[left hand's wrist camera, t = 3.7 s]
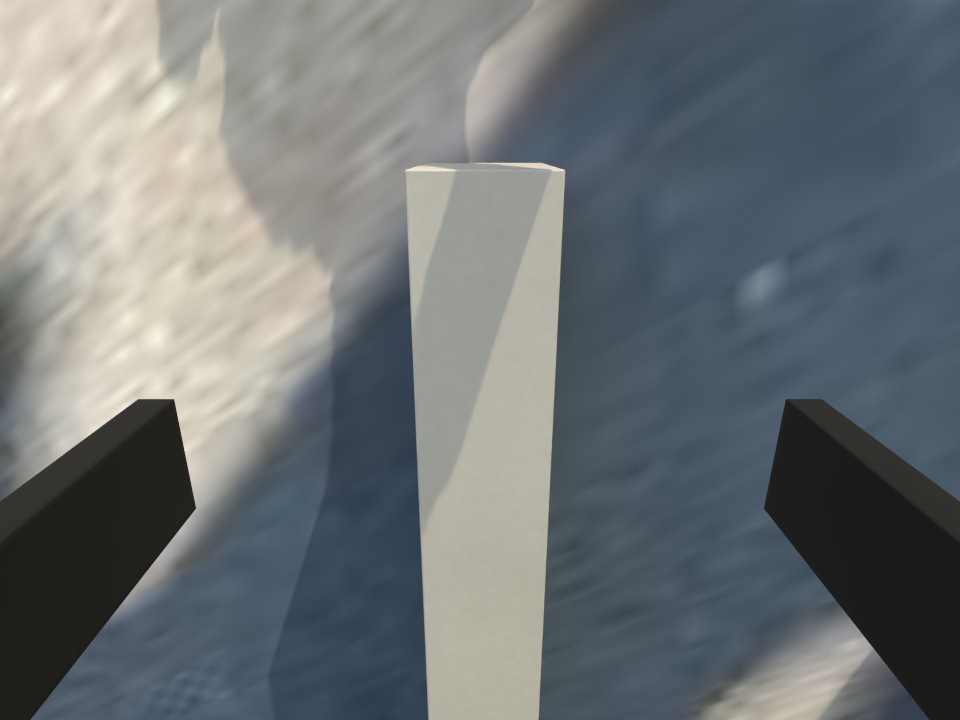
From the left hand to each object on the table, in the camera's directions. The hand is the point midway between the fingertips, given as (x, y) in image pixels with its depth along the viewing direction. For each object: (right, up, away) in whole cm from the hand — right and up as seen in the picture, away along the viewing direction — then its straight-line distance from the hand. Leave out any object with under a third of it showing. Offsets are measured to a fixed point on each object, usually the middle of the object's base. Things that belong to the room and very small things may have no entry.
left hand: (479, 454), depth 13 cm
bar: (0, -26, +26) cm, 36 cm away
